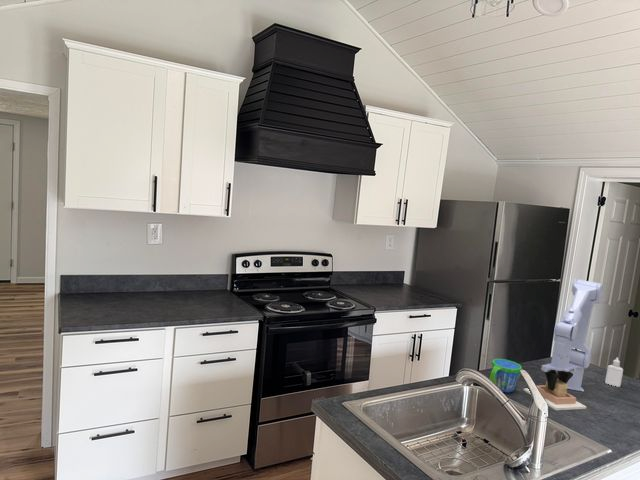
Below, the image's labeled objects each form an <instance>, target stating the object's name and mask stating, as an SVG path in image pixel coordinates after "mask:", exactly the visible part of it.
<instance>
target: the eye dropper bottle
mask: <svg viewBox="0 0 640 480" xmlns="http://www.w3.org/2000/svg"><path fill="white" fill-rule="evenodd" d="M620 365H621V361H620V360H619V357H616V358H615V359H613V360H612V364H609V365H607V369H606V375H605V379H604V380H605V381H604V383H605V385H608V384H609V386H611V385H612V387H615V386H616V387H615V388H620V387H621V385H622V381H623V379H622V378H623V374H624V368H622V367H621V366H620Z"/></svg>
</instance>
